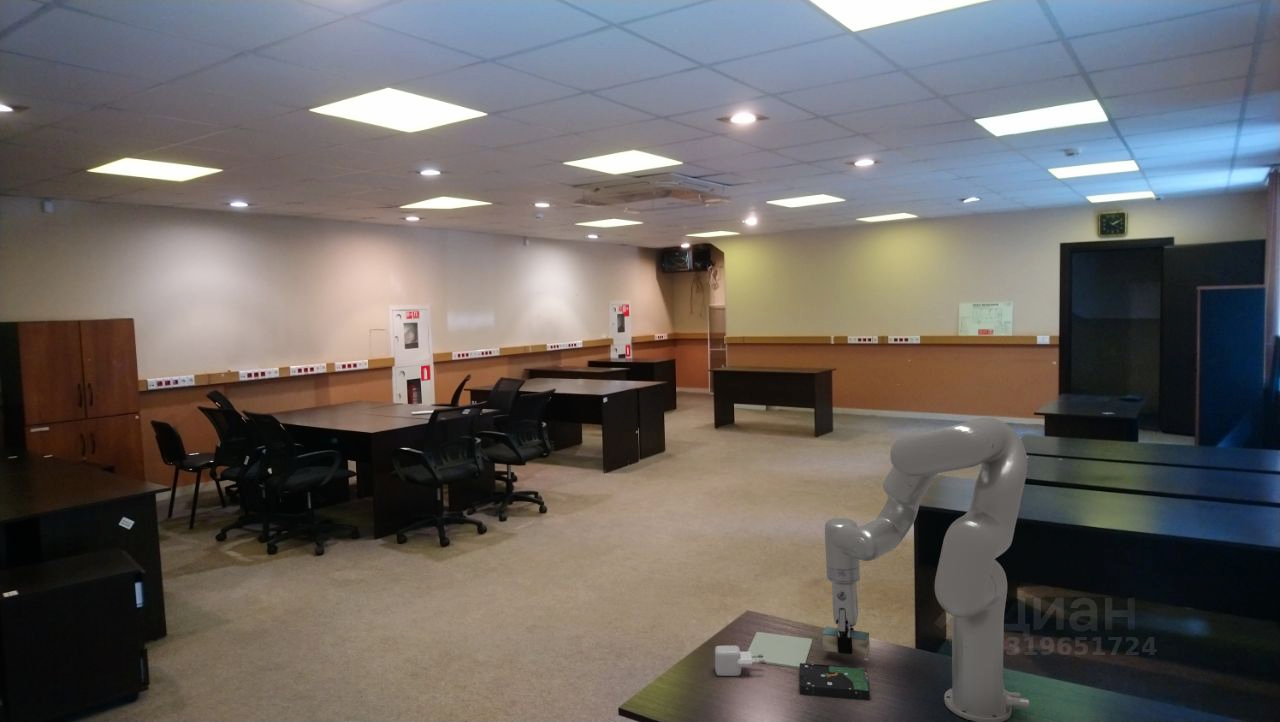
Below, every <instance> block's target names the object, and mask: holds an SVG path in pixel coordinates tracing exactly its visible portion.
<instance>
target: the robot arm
mask: <svg viewBox="0 0 1280 722" xmlns="http://www.w3.org/2000/svg"><path fill="white" fill-rule="evenodd" d="M1024 445H1025V444H1024V442H1023V441H1022V439H1021V437H1020V436H1019V435H1018V433H1017V432H1016V431H1015V430H1014V429H1013V428H1012V427H1011V426H1010V425H1008V424H1007V423H1005V422H1004V421H1002V420H1000V419H997V418H994V417H987V416H986V417H985V416H983V417H977V418H973V419H970V420H968V421H965V422H961V423H957V424H955V425H950V426H945V427H942V428H938V429H934V430H932V429H931V430H930V429H921V430H917V431H914V432H911V433H908V434H905V435H901V436H900V437H899V438H898V439H896V440H895V441H894V442H893V444H892V446H891V448H890V454H889V459H890V461H891V465H892V467H891V469H890V470H889V472H888V474H887V475H886V477H885V479H884V480H883V482H882V488H883V490H884V492H885V494H886V495H887V496H888V497H887V500H886V502H885V504H884V506H883V507H882V509H881V511H880V513H879V514H878V515H877V517H876V518H875V519H874V520H873V521H870V522H868V523H866V524H863V525H860V526H858V523H857V522H856V521H854V520H853V519H850V518H846V517H845V518H844V517H837V518H831V519H829V520H827V521H826V522H825V524H824V541H825V542H824V543H825V545H824V546H825V564H826V566H825V568H826V569H825V570H826V579H827V580H828V581H829V582H831V591H832V592H831V595H832V612H833V613H832V615H833V623H834V625H837V628H838V635H837V642H838V652H837V653H838V654H842V655H843V654H844V655H851V654H852V637H850V630H854V631H855V629H854V628H855V626H857V622H858V617H859V602H858V601H859V599H858V588H857V583H858V582H859V581H860V580H861V574H860V572H861V569H860V561H864V562H872V561H875V560H877V559H878V558H880V557H882V556H884V555H885V554H888V553H889V552H891V551H893V550H895V549H896V548H897V547H898V546H899V545H901V543H902V541H903V540H904V538H905V537H906V535H907V534H908V533H909V531H910V530H911V528H912V526H913V524H914V522H915V520H916V518H917V515H918V513H919V512H918V511H919V508H920V503H921V502H922V501H923V498H924V496H925V495H926V494H927V492H928V490H929V488H931V485H932V484H933V482H934V481H935V480H936V477H937V476H938V475H939V474H941V473H948V472H953V471H959V470H964V469H969V468H973V467H976V466H979V465H981V467H980V471H979V473H978V475H977V477H976V480H975V483H974V487H973V493H972V498H971V502H970V505H969V508H968V510H967V512H966V513H965V514H964V515H962V516H960V517H958V518H957V519H955V520H954V521H953V522H952V523H951V524H950V525H949V527H948V528H947V530H946V532H945V535H944V537H943V541H942V546H941V550H940V556H939V559H938V564H937V569H936V574H935V579H934V593H935V597H936V598H935V599H936V600H937V602H938V604H939V605H940V607H941V608H942V609H943V610H944V611H945V612H946V613H947V614H949V615H951V616H952V621H951V622H952V623H951V624H952V626H951V627H952V628H951V630H952V631H951V636H952V638H951V639H952V640H951V642H952V643H951V644H952V645H951V650H952V651H951V657H952V659H951V662H952V663H951V673H952V674H951V675H952V676H951V678H952V680H951V682H952V684H951V687H952V688H949V689H948V690H946V691H945V692H944V697H943V702H944V705H945V706H946V707H947V709H948V710H949V711H951V712H952V713H953V714H955V715H957V716H959V717H961V718H963V719H965V720H968V721H972V722H1005V721H1007V720H1009V719H1010V718H1011V716H1012V710H1013V709H1012V707H1015V708H1019V709H1026V710H1030V700H1029V698H1024V697H1022V696H1021V693H1020V692H1015V691H1013V692H1012V691H1008V690H1007V689H1006V688H1005V685H1004V635H1005V634H1004V620H1005V610H1006V601H1007V594H1008V581H1007V576H1006V575H1007V574H1006V572H1005V570H1004V568H1003V566H1002V565H1001V564H1000V563H999V562H998V561H997V560H996V558H998V557H1000V556H1001V555H1003V554H1004V553H1005V552H1007V550H1008V549H1009V548H1010V547H1011V545H1012V542H1013V538H1014V534H1015V530H1016V529H1015V528H1016V524H1017V521H1018V515H1019V512H1020V508H1021V507H1020V506H1021V501H1022V496H1023V492H1024V489H1025V488H1024V487H1025V483H1026V478H1027V472H1028V455H1027V451H1026V448H1025V446H1024ZM847 630H848V631H847Z"/></svg>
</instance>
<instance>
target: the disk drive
mask: <svg viewBox="0 0 1280 722" xmlns="http://www.w3.org/2000/svg"><path fill="white" fill-rule="evenodd" d="M867 670H868V669H867V668H863V667H856V666H845V665H830V664H821V663H820V664H818V663H809V662H806V663H800V669H799V676H798V677H799V686H798V688H799V695H800V696H801V695H803V696H813V697H824V698H825V697H827V698H836V699H837V698H838V699H848V700H857V701H860V700H862V701H871V688H870V682H869V681H870V679H869V677H868V672H867Z"/></svg>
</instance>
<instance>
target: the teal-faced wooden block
mask: <svg viewBox="0 0 1280 722" xmlns="http://www.w3.org/2000/svg"><path fill="white" fill-rule="evenodd" d="M847 631H848V630H847ZM821 634H822V636H821V637H822V651H827V652H832V653H838V642H837V635H838V627H832V626H825V628H824V629H823V631H822V633H821ZM850 637H852V654H850V655H851V656H857V657H858V656H859V657H863V658H867V657H868V654H869V653H870V649H871V648H870V647H871V646H870V632H866V631H861V630H860V631H859V630H855V629H854V630H850Z"/></svg>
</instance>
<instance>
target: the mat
mask: <svg viewBox="0 0 1280 722" xmlns="http://www.w3.org/2000/svg"><path fill="white" fill-rule="evenodd" d="M813 640H814V639H813V638H807V637H806V638H805V637H800V636H792V635H791V636H790V635H784V634H776V633H768V632H763V631H762V632H760V631H756V633H755V634H754V637H753V640H752V641H751V644H750V646H748V647H749V648H748V650H747V651H746V652H751V654H753V655H758V654H762V655H763V658H752V660H764V661H765V662H764V663H766V664H765V665H768V664H772V665H771V666H775V665H778V666H777V667H782V666H785V667H784V668H788V667H790V668H789V669H796V670H800V663H807V661H808V657H809V655H808V654H810V651H811V648H812V645H813V642H812V641H813ZM811 644H812V645H811Z"/></svg>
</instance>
